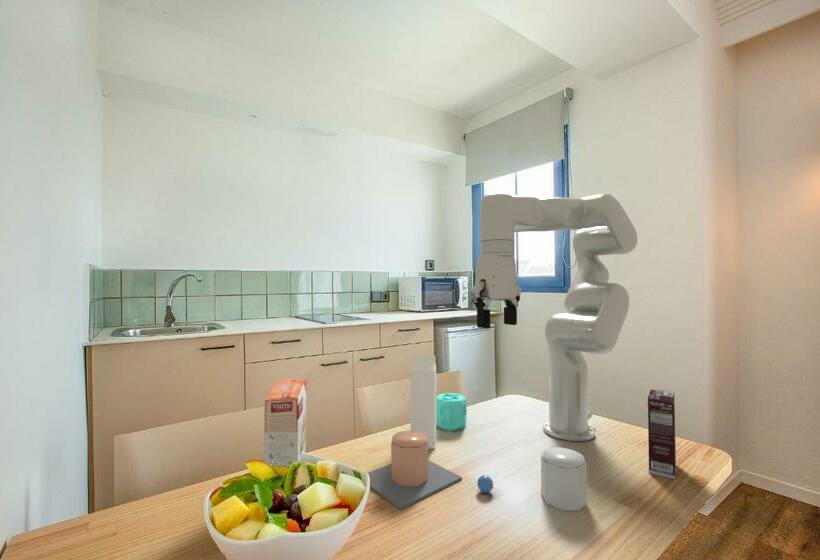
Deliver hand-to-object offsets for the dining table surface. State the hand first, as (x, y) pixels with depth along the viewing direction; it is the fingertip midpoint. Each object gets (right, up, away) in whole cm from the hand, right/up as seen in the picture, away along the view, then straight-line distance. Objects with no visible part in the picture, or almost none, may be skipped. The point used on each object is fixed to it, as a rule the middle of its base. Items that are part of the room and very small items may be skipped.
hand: (497, 326), depth 86 cm
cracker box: (-42, -31, -15) cm, 54 cm away
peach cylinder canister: (-20, -30, -8) cm, 37 cm away
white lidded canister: (+9, -30, -15) cm, 35 cm away
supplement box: (+35, -30, -4) cm, 46 cm away
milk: (-16, -31, +10) cm, 36 cm away
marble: (-5, -30, -12) cm, 33 cm away
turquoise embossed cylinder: (-8, -31, +22) cm, 39 cm away
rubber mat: (-20, -30, -8) cm, 37 cm away
